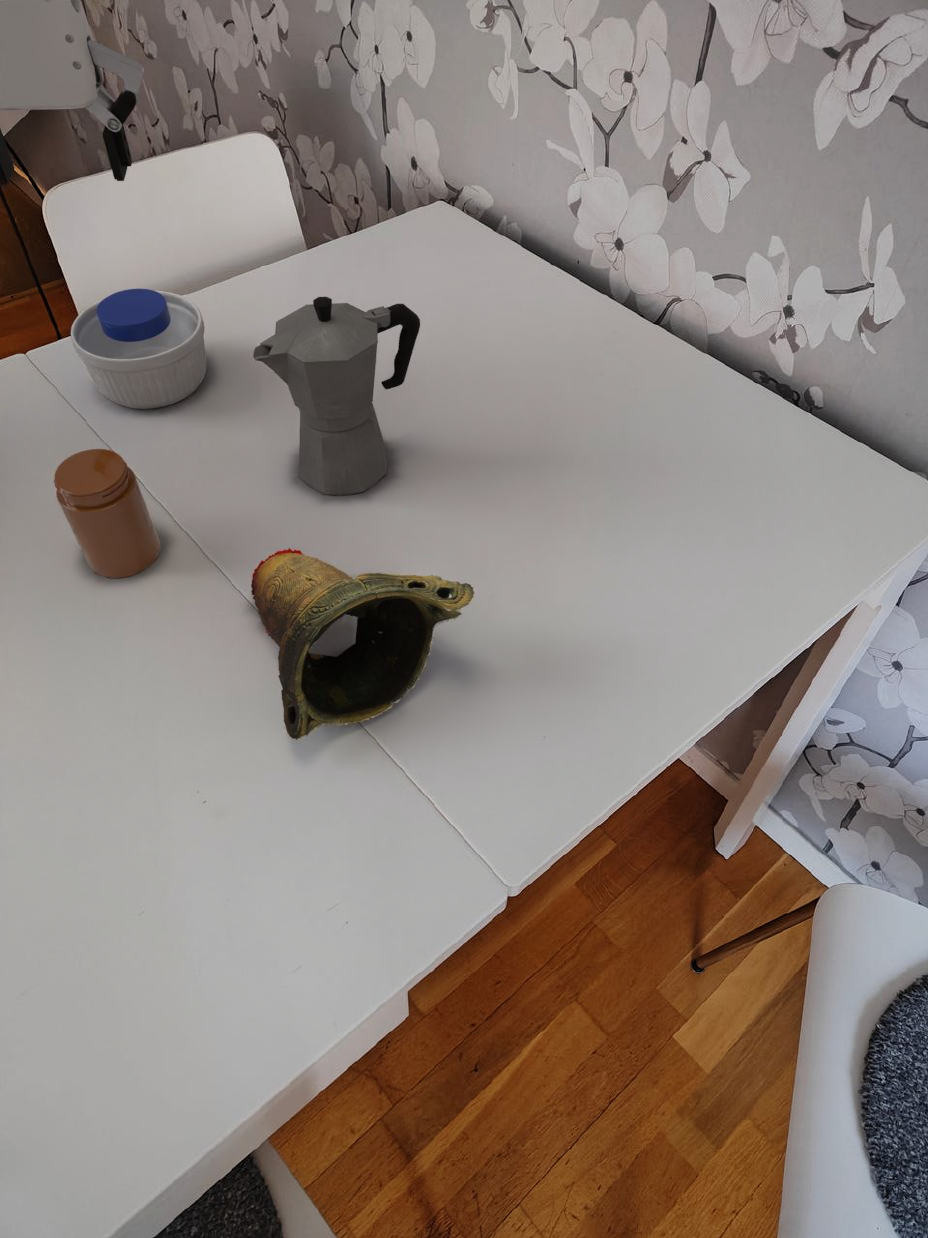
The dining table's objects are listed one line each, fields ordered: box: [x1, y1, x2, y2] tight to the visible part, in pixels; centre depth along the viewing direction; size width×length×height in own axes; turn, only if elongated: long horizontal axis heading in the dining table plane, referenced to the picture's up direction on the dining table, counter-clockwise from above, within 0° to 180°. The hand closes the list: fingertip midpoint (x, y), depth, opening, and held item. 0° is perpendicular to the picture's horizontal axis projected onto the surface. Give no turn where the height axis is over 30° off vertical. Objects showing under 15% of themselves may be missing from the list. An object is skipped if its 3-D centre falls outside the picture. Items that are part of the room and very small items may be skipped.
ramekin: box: [70, 289, 207, 410], centre depth 92 cm, size 13×13×7 cm
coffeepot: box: [252, 296, 421, 496], centre depth 79 cm, size 15×9×18 cm, turn 118°
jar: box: [53, 448, 161, 579], centre depth 75 cm, size 6×6×10 cm
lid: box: [97, 288, 171, 342], centre depth 89 cm, size 7×7×2 cm
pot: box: [250, 547, 475, 741], centre depth 68 cm, size 17×11×18 cm
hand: (65, 175), depth 76 cm, fingers open, 9 cm apart
